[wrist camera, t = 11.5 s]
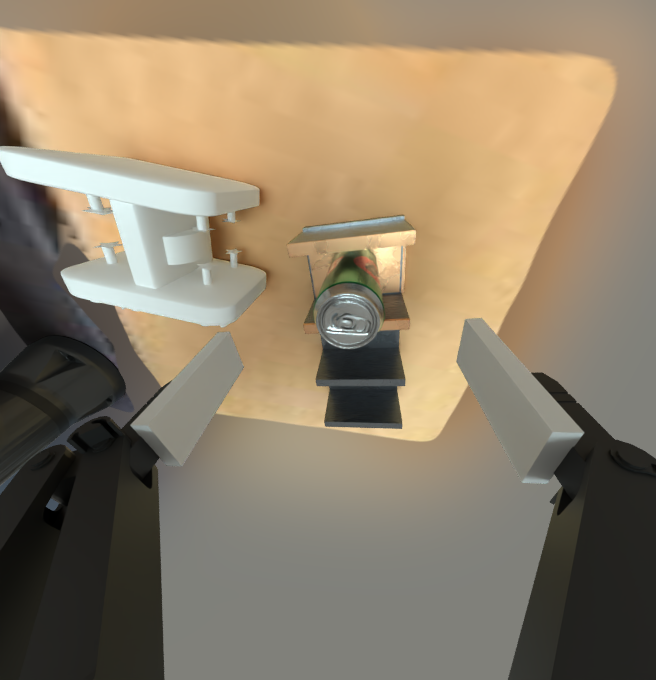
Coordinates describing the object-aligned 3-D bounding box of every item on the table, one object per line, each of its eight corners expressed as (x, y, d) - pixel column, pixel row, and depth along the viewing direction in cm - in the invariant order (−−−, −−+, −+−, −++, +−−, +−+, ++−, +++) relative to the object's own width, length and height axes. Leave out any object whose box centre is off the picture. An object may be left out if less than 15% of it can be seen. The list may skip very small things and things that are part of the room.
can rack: (331, 390, 38) (325, 429, 32) (304, 227, 25) (285, 241, 19) (398, 390, 36) (404, 432, 30) (406, 214, 23) (420, 226, 17)
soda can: (334, 240, 24) (314, 280, 14) (383, 249, 24) (396, 296, 14) (327, 286, 27) (306, 346, 17) (370, 294, 27) (374, 359, 17)
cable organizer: (275, 187, 23) (214, 191, 14) (271, 286, 29) (227, 337, 20) (128, 156, 24) (-33, 138, 14) (154, 261, 30) (54, 299, 20)
